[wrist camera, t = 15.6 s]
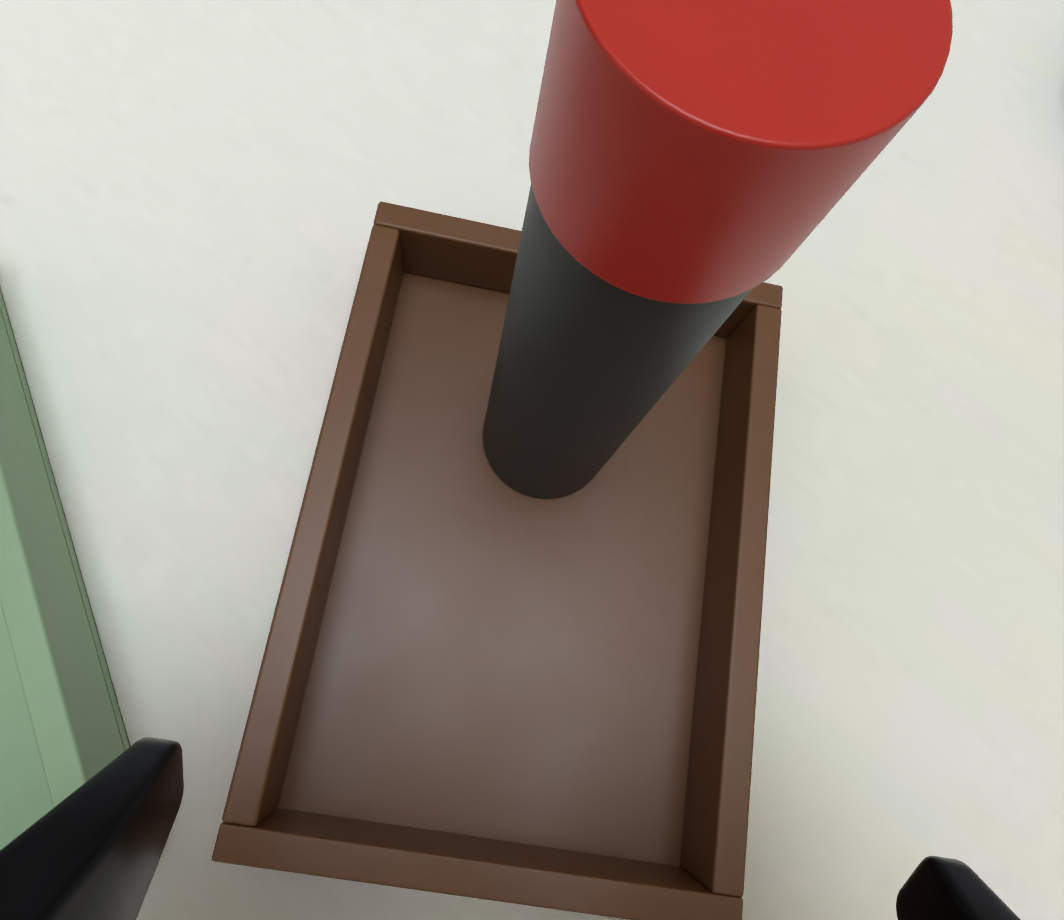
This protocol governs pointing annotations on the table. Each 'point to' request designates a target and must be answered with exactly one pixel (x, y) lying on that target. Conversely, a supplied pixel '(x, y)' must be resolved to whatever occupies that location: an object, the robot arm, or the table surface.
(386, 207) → the walnut tray
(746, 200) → the thermos
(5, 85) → the table surface
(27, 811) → the green tray
